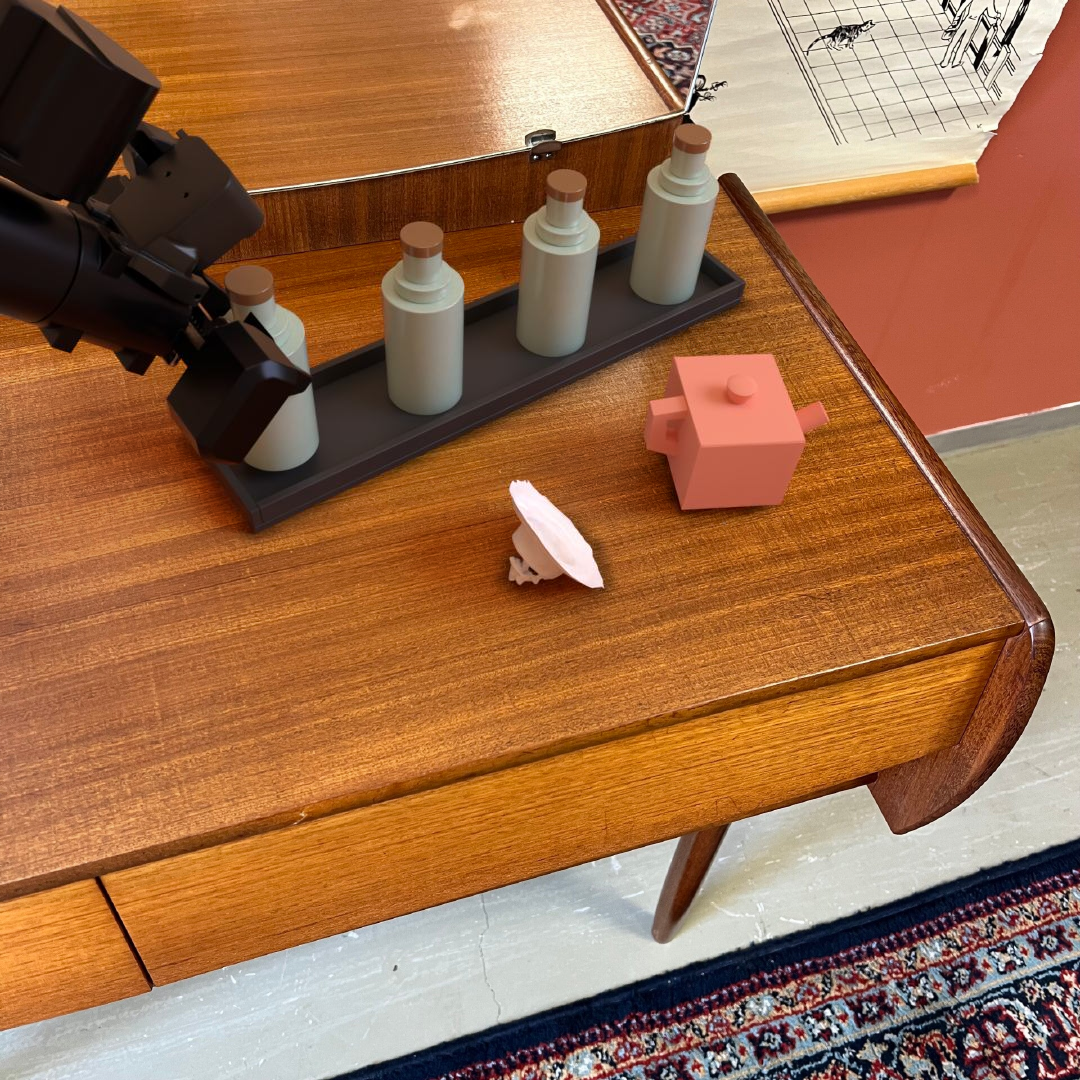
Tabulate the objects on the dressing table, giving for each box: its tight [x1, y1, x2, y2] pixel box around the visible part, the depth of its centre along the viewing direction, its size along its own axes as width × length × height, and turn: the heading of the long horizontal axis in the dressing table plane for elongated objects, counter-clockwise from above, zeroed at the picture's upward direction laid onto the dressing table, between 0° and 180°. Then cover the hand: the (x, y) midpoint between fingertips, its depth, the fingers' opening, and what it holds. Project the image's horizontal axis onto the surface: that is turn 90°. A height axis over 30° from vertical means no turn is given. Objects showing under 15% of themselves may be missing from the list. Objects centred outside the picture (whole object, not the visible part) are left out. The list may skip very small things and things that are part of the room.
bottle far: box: [629, 123, 720, 305], centre depth 74 cm, size 5×5×13 cm
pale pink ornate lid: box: [508, 479, 605, 589], centre depth 61 cm, size 8×5×8 cm
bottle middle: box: [516, 168, 601, 357], centre depth 70 cm, size 5×5×13 cm
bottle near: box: [380, 221, 465, 415], centre depth 66 cm, size 5×5×13 cm
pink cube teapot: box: [643, 353, 830, 511], centre depth 65 cm, size 8×12×8 cm, turn 97°
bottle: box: [223, 264, 319, 471], centre depth 60 cm, size 5×5×13 cm
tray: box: [202, 233, 747, 534], centre depth 72 cm, size 42×9×2 cm, turn 127°
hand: (284, 356), depth 60 cm, fingers closed on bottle, 5 cm apart
